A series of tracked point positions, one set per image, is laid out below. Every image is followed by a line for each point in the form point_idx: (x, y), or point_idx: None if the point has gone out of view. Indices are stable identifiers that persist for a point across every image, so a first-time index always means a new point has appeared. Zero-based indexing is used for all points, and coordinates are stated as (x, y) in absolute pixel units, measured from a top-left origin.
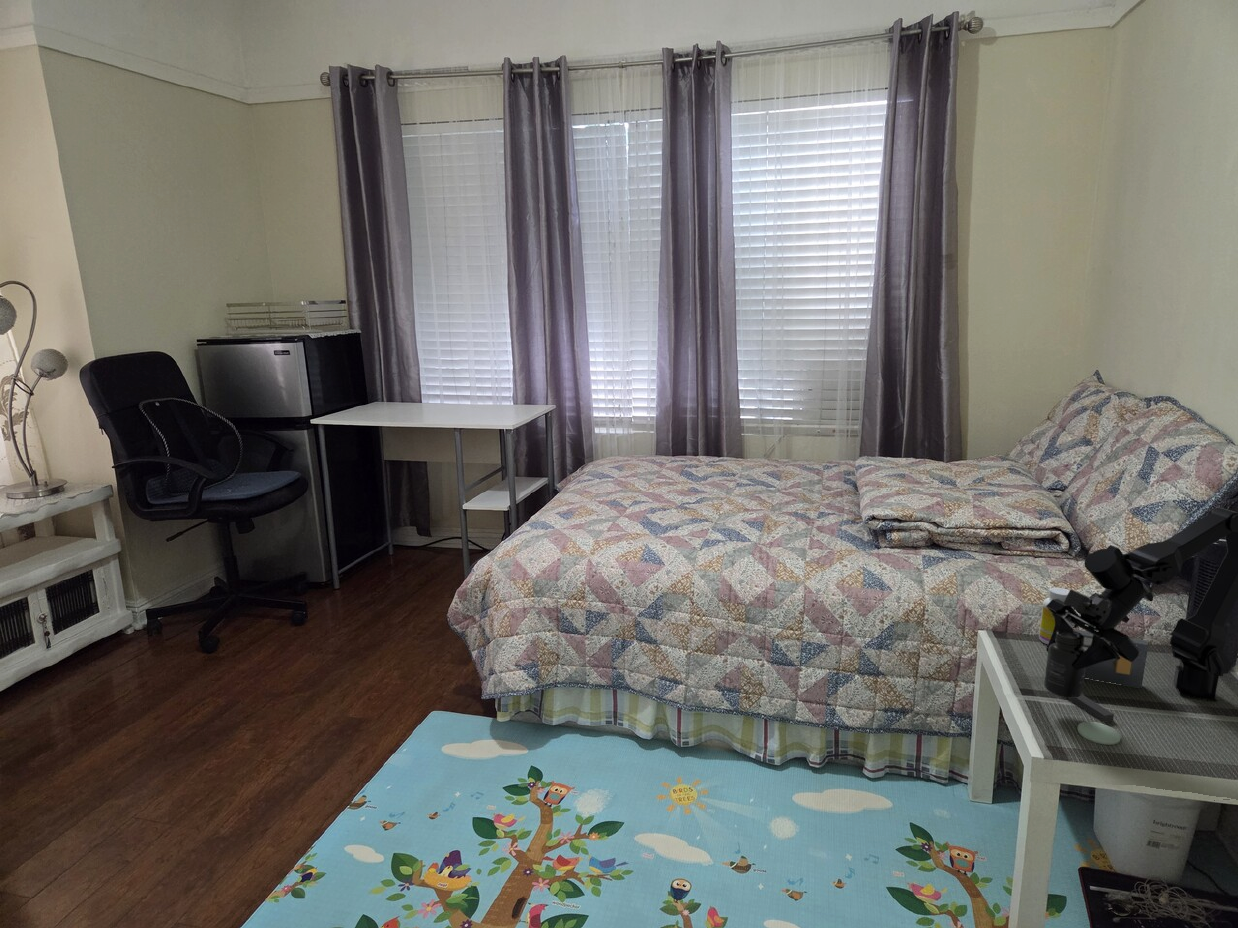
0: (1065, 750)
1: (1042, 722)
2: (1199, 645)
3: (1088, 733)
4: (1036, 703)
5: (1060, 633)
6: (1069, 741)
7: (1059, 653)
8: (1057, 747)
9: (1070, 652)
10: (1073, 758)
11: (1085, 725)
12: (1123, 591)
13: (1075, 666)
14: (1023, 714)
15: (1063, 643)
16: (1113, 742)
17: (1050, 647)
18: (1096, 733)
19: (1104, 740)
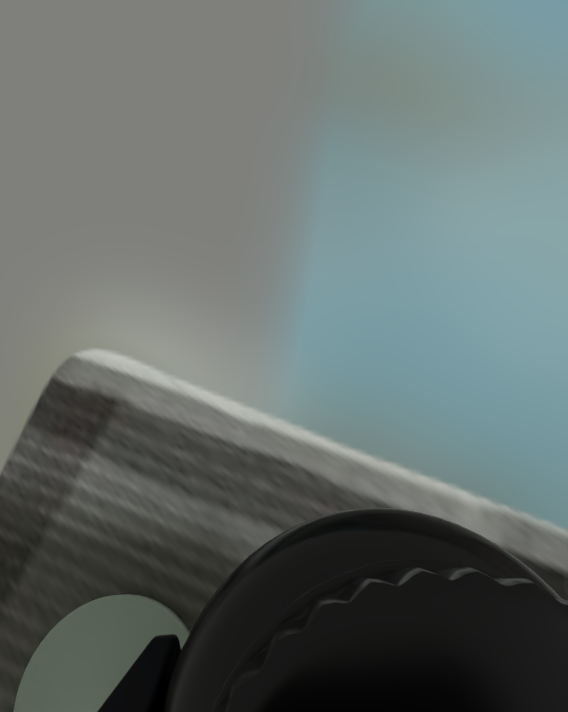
0: (69, 448)
1: (259, 487)
2: None
3: (111, 625)
4: None
5: (545, 671)
6: (111, 506)
7: (294, 535)
8: (94, 432)
9: (223, 663)
10: (20, 444)
11: None
12: None
13: (147, 650)
14: (327, 446)
15: (312, 595)
16: (16, 707)
17: (469, 536)
18: (98, 671)
19: (39, 664)
